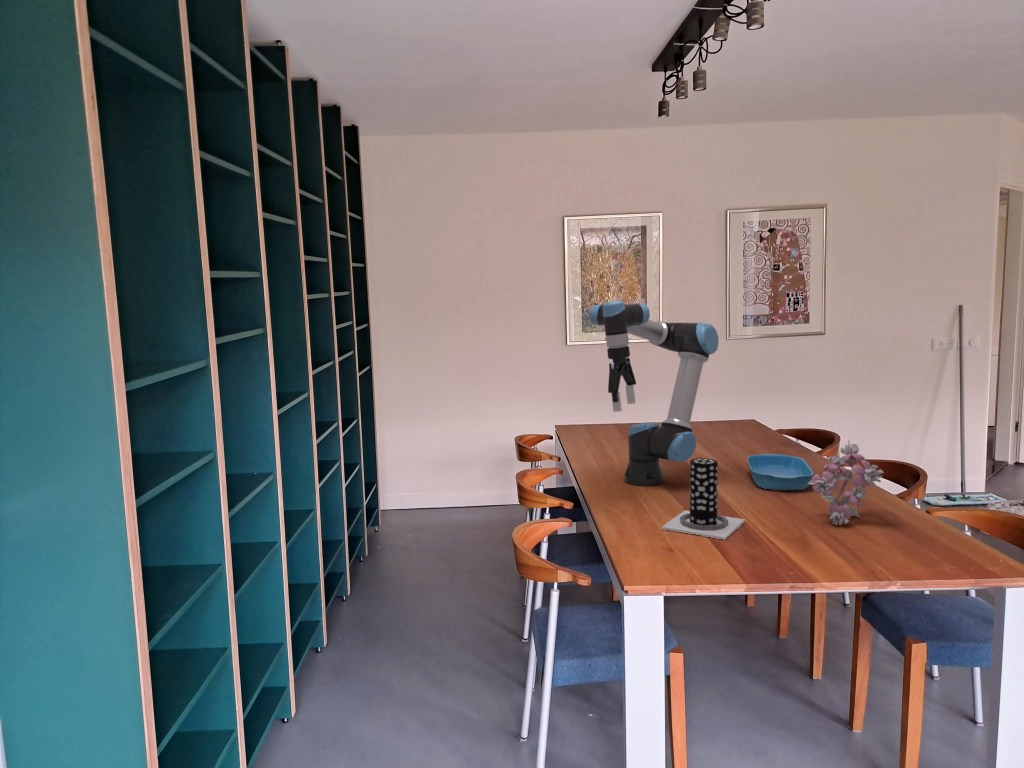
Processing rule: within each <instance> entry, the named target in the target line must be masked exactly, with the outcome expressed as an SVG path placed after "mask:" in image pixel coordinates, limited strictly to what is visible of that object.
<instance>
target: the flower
mask: <svg viewBox="0 0 1024 768" xmlns="http://www.w3.org/2000/svg"><path fill="white" fill-rule="evenodd" d="M843 446H844V447H843ZM843 446H841V447H840V449H839V450H840V451H839V453H838V455H835V454H833V455H834V456H832V455H831V454H830V455H829V457H828V462H829V463H828V464H827V463H826V464H825V465H824V466H823V472H822V475H821V476H820V475H819V474H818V473H816V474H813V476H812V479H811V481H810V482H809V483H808V484H807V485H809V486H810V485H812V489H813V491H814V492H815V493H816V494H817V495H819V494H820V496H821V498H823V499H824V500H825V501H826V502H827V503H829V507H828V508H827V514H828V515H829V519H830V520H832V525H833V524H834V525H835V526H837V525H838V526H839V525H842V524H843V523H844V524H845V525H846V524H848V522H849V521H850V520H849V519H851V517H855V516H856V517H858V518H859V517H860V518H861V516H860V515H859V513H858V510H857V509H856V507H858V508H859V507H860V508H861V507H862V506H863V504H864V503H863V500H862V499H866V498H867V493H868V492H867V491H865V488H866V489H867V488H869V486H872V487H873V486H874V487H876V486H877V484H876V483H875V482H878V483H882V481H881V478H883V476H884V475H882V474H885V472H884V471H883V470H882V469H878V468H879V466H878V465H875V464H871V463H870V462H869V461H867V460H866V458H865V456H863V455H862V454H860V448H859V444H857V443H852V444H851V443H850V440H848V441H847V443H846V444H844V445H843ZM841 454H843V455H844V456H840V455H841ZM857 462H859V463H860V464H861V465H860V464H857ZM845 464H847V466H849V467H850V468H851V469H846V467H844V465H845ZM877 469H878V470H877ZM838 470H839V472H837V471H838ZM835 473H836V474H835ZM854 476H857V477H856V478H853V477H854ZM852 478H853V479H852ZM851 479H852V480H851ZM839 481H844V482H843V484H842V485H841V487H840V490H839V491H838V494H837V496H835V495H833V493H834V492H832V491H831V490H833V491H834V490H838V489H839ZM850 481H851V483H852V484H853V488H852V489H849V490H846V491H844V490H845V489H846V487H847V484H848V483H849V482H850ZM843 492H844V493H843ZM841 495H843V496H842V497H841ZM857 503H858V505H857V506H856V507H855V506H853V505H856V504H857ZM842 526H843V525H842Z"/></svg>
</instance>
